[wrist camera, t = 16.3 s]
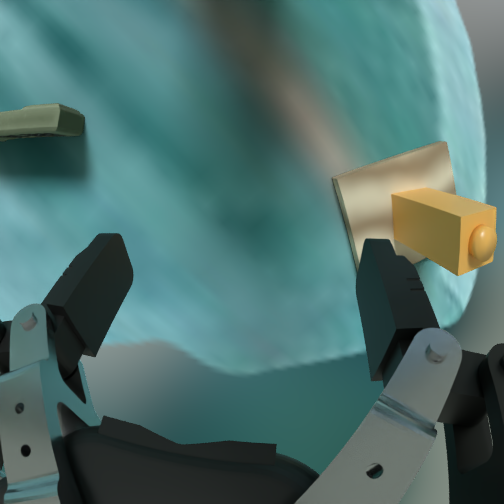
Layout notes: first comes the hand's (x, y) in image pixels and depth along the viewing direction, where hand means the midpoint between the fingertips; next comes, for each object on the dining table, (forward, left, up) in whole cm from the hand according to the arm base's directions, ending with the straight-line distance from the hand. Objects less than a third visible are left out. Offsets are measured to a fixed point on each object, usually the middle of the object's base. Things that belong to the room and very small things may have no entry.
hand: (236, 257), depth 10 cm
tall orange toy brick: (+11, +20, -22) cm, 31 cm away
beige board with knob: (+11, +20, -23) cm, 33 cm away
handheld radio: (-18, -22, -24) cm, 37 cm away
